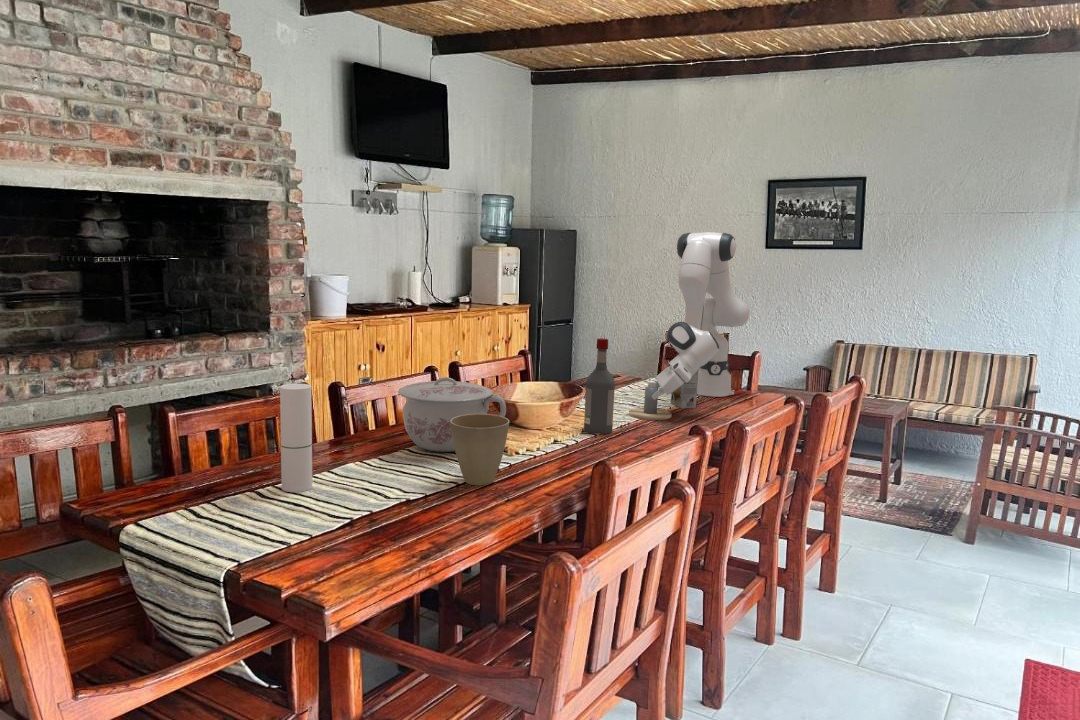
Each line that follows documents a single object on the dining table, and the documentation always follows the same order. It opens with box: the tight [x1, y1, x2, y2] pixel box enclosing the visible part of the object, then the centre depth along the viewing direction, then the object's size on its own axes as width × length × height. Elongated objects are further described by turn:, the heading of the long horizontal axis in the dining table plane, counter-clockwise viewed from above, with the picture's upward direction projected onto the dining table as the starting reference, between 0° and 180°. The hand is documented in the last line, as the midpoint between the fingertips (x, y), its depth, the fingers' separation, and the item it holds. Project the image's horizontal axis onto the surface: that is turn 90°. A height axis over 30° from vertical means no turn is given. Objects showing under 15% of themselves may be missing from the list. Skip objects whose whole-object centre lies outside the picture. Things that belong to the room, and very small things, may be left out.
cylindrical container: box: [279, 383, 313, 493], centre depth 193 cm, size 7×7×25 cm
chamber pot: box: [397, 376, 507, 453], centre depth 234 cm, size 28×28×21 cm
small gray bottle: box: [643, 381, 659, 414], centre depth 284 cm, size 5×5×11 cm
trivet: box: [628, 407, 673, 421], centre depth 285 cm, size 15×15×1 cm
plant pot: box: [450, 413, 510, 486], centre depth 203 cm, size 15×15×16 cm
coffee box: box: [670, 367, 699, 409], centre depth 303 cm, size 9×6×16 cm
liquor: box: [583, 337, 616, 435], centre depth 259 cm, size 9×9×30 cm
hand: (651, 395), depth 284 cm, fingers open, 8 cm apart
